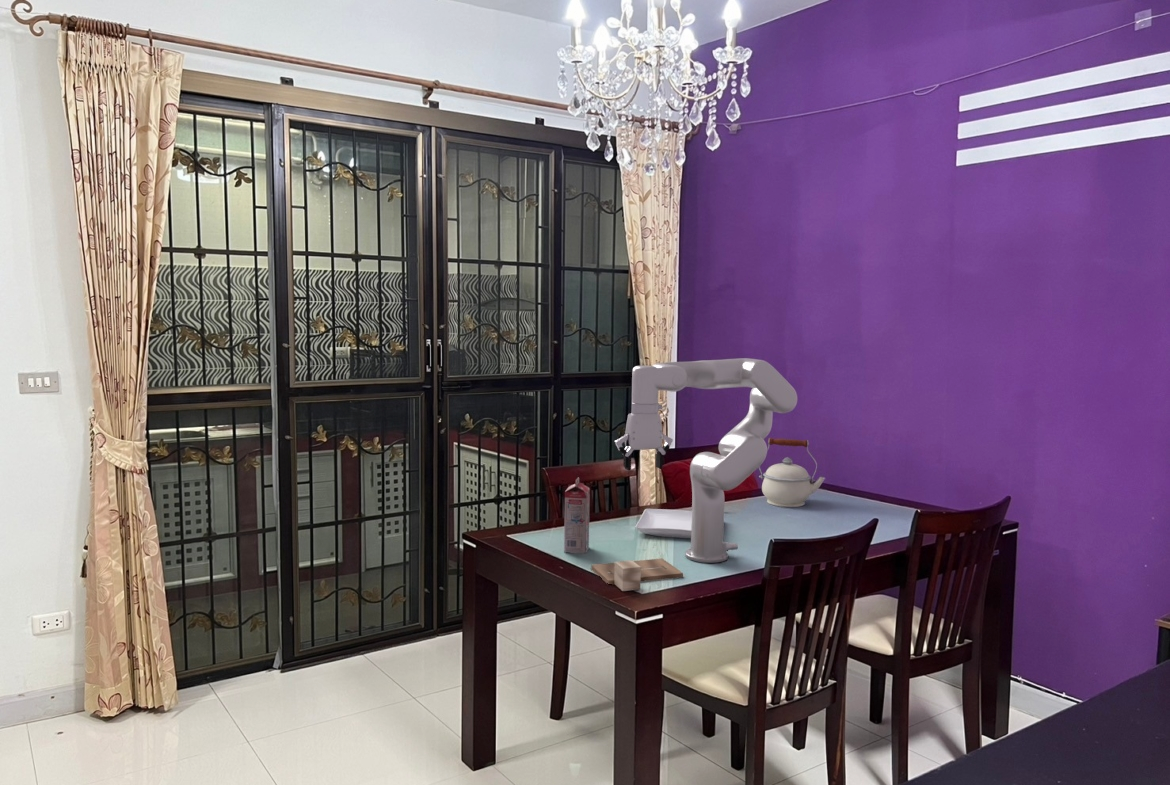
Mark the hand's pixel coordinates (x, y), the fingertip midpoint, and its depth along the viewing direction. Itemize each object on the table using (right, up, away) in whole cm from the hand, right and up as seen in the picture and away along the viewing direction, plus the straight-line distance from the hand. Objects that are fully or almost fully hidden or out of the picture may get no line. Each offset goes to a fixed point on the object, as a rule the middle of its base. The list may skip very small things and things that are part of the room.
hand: (643, 468), depth 238 cm
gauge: (-6, -29, -13) cm, 33 cm away
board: (-2, -29, -4) cm, 29 cm away
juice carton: (-19, -27, +18) cm, 37 cm away
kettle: (+62, -21, +82) cm, 105 cm away
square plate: (+15, -25, +43) cm, 52 cm away
